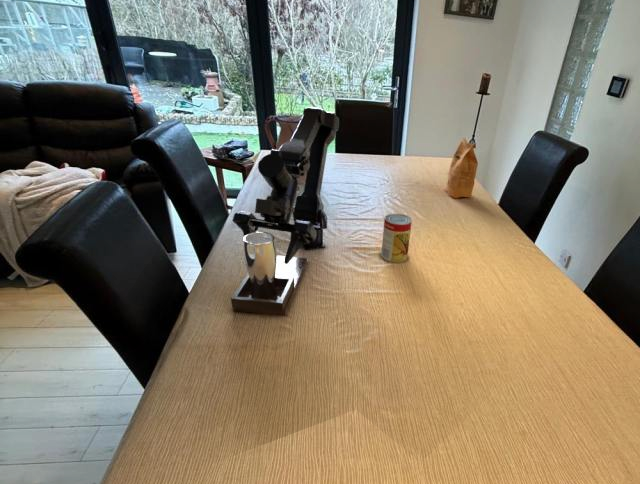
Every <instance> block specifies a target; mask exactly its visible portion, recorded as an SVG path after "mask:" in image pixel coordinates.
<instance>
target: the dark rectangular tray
mask: <svg viewBox="0 0 640 484" xmlns="http://www.w3.org/2000/svg"><path fill="white" fill-rule="evenodd" d="M285 256H286V255H277V265H276V273H275V286H276V290H277V294H278V295H277V298H276V299H274V300H267V299H256V298H251V289H252V285H251V280H250V276H249V273H247V274H246V275H245V276H244V278H243V279H242V281H241V282H240V284H239V285H238V287H237V289H236V290H235V292H233V294H232V295H231V298H230V304H231V308H232V311H233V312H240V313H241V312H243V313H251V314H252V313H255V314H264V315H277V316H286V315H287V313H288V310H289V309H290V306H291V304H292V301H293V298H294V296H295V294H296V291H297V290H298V287H299V284H300V282H301V279H302V277H303V275H304V272H305V270H306V267H307V265H308V258H307V257H299V256H293V258H292V259H291V260H290V261H289V263H288V264H285V263H284V261H285Z"/></svg>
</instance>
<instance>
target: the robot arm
mask: <svg viewBox="0 0 640 484" xmlns="http://www.w3.org/2000/svg"><path fill="white" fill-rule="evenodd" d="M302 116H303V117H302V119H301V121H300V123H299V125H298V127H297V129H296V131H295V133H294V135H293V137H292V139H291V140H290V141H289V142H287V143H284V144H283V145H282V146H281V147H280V149H279V150H273V149H271V150H270V153H269V154H266V155H264V156H263V157H262V158H261V159H260V160H259V161H258V164H257V170H258V172H259V173H260V175H261V176H262V178H263V179H264V181H265V182H266V183H267V185H268V186H269V188H271V192H270V195H267V196H266V198H265V199H263V198H256V199H255V209H254V213H255V214H259V216H260V217H261V218H263V219H261V218H257V217H256V216H255V215H254V213H252V212H248V211H240V210H237V211H236V212H235V213H234V214H233V216H232V222H233V223H234V224H235V225H236V226H237V227H238V228H239V229H240V230H241V231H242V233H243V237H244V236H245V235H247V234H249V233H253V232H258V230H259V228H261V229H267V230H272V231H278V232H285V233H290V239H289V244H288V247H287V250H286V253H285V255H284V256H285V261H284V263H285V264H288V263H289V261H290V260H291V259H292V258H293V257H295V255H296V254H297V253H298V252H299V250H301V249H304V251H309V250H316V249H321V248H325V247H326V244H325V243H324V230H326V229H328V216H327V214H326V212H325V211H324V208H325V205H324V203H323V201H322V198H321V192H322V187H323V179H324V172H325V168H326V167H325V166H326V160H327V154H328V149H329V148H328V147H329V146H330V145H331V143H332V142H333V141H334V140H335V139H336V135H337V131H339V128H340V118H339V116H337V115H336V112H333V111H325V110H324V109H322V108H320V107H311V106H307V107H304V108H303V111H302ZM310 147H311V150H310V156H309V157H308V152H309V149H310ZM306 172H307V175H306V181H305V183H304V187H303V191H302V193H301V194H298V195H297V193H298V192H299V191H301V190H300V189H301V188H300V187H301V186H300V184H299V183H298V181H297V179H296V178H295V177H294V176H292V175H298V176H304V175H305V173H306ZM291 218H293V223H290V222H291Z"/></svg>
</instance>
